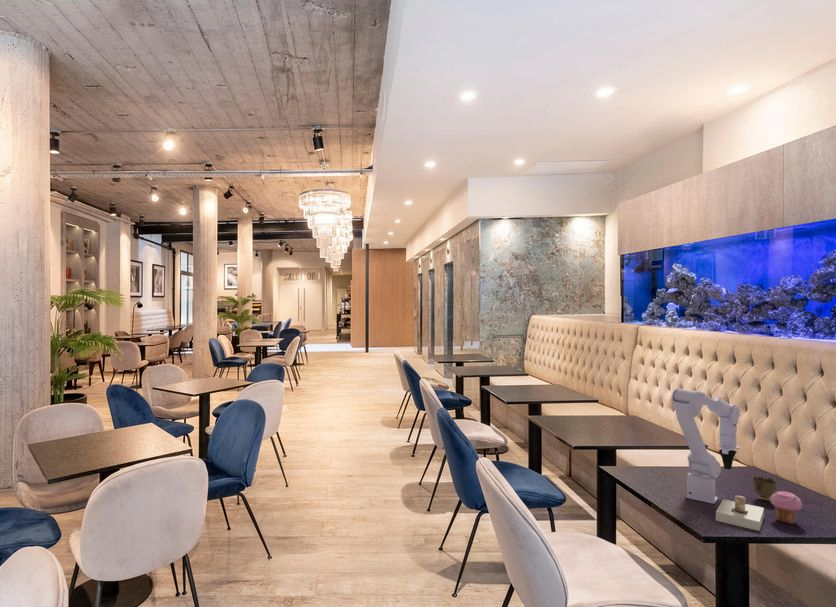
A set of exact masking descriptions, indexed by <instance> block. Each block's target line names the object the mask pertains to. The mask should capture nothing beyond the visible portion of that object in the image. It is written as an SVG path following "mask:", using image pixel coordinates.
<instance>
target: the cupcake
mask: <svg viewBox="0 0 836 607" xmlns="http://www.w3.org/2000/svg"><path fill="white" fill-rule="evenodd" d="M770 503H771V504H772V505H773V506H774V513H775V515H774V517H775V519H776V520H777V521H779V522H782V523H787V524H791V525H793V524H794V523H795V519H796V518H797V514H798V512H799V510H802V509H803V503H802V500H801V499H800V497H798V496H797V495H796V494H794V493H792V492H788V491H775V493H774V494H773V495H772V496H771V497H770Z"/></svg>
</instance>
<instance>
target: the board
mask: <svg viewBox="0 0 836 607" xmlns="http://www.w3.org/2000/svg"><path fill="white" fill-rule="evenodd" d="M764 518H765V507H762V506H757V505H752V504H748V503H745V515H744V514H739V513H735V500H734V501H733V500H729V499H724V498H723V499H722V501H721V502H720V504H719V506H718V507H717V509H716V511H715V521H717V522H719V523H725V524H729V525H733V526H736V527H741V528H746V529H749V530H752V531H753V530H754V531H760V530H761V527H762V524H763V521H764Z"/></svg>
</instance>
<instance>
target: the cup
mask: <svg viewBox="0 0 836 607" xmlns="http://www.w3.org/2000/svg"><path fill="white" fill-rule="evenodd" d="M752 480H753V487H754V491H755V493H756V494H757V495H758V498H759V500H760V501H764V502H769V501H770V502H771V496H772V495H773V494H775V493H776V489H777V488H776V486H777V480H775V481H774V479H772V478H771V477H769V478H767V476H766V477H765V478H764V477H763V476H759V475H758V476H753V477H752Z"/></svg>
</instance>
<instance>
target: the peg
mask: <svg viewBox="0 0 836 607" xmlns="http://www.w3.org/2000/svg"><path fill="white" fill-rule="evenodd" d="M734 502H735V513H739V514H744V515H745V504H746V497H745V496H742V495H735V496H734Z"/></svg>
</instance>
